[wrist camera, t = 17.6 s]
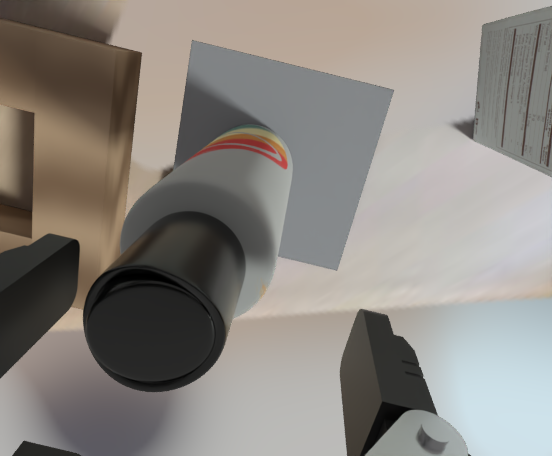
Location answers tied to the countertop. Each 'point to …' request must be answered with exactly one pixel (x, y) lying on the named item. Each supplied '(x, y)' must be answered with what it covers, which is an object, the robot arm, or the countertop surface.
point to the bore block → (72, 140)
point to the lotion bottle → (191, 262)
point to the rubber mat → (291, 137)
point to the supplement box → (517, 89)
